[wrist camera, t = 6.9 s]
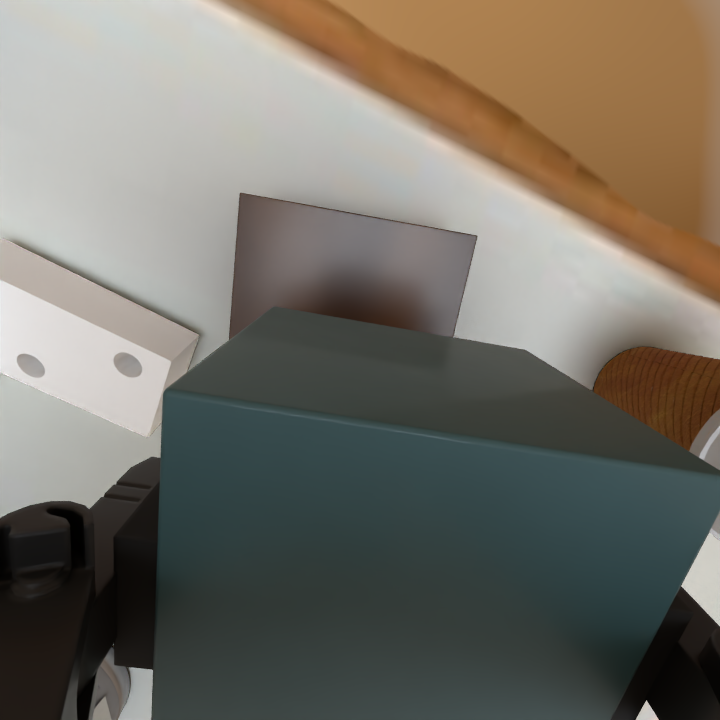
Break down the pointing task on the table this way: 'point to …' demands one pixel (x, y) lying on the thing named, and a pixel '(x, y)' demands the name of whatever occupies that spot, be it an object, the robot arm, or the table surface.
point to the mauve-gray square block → (346, 267)
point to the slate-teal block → (408, 531)
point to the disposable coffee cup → (669, 398)
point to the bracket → (86, 342)
